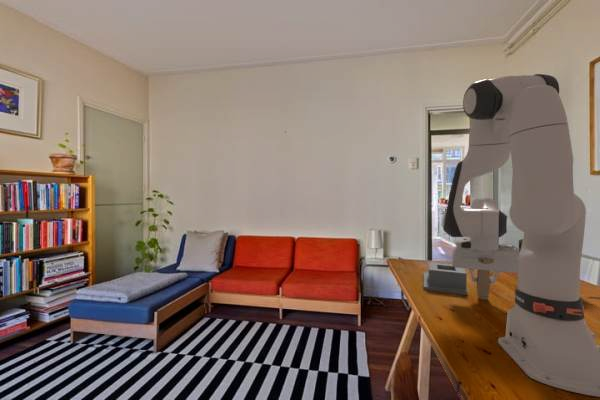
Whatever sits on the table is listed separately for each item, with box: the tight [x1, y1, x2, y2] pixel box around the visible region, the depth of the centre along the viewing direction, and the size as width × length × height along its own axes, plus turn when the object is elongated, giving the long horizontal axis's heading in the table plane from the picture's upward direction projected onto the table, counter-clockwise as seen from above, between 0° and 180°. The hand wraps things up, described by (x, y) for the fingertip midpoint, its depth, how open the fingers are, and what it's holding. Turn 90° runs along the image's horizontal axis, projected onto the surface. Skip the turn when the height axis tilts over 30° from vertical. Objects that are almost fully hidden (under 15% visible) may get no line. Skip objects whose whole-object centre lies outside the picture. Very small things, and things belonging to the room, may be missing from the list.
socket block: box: [423, 262, 469, 296], centre depth 118 cm, size 22×15×7 cm
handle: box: [476, 258, 494, 301], centre depth 101 cm, size 5×6×15 cm
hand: (483, 282), depth 101 cm, fingers closed on handle, 4 cm apart
